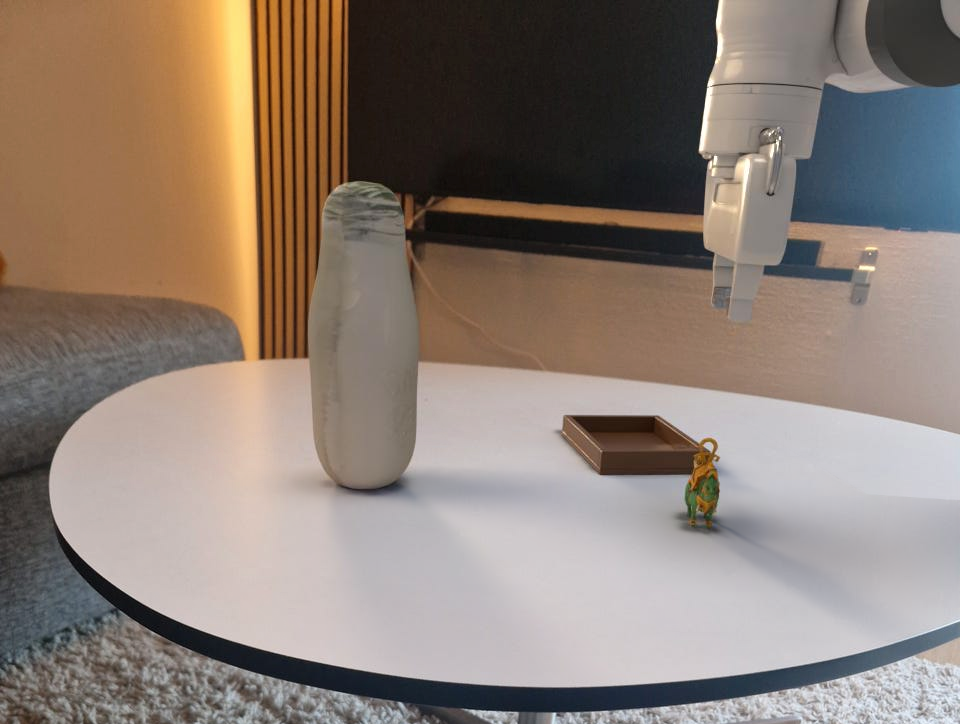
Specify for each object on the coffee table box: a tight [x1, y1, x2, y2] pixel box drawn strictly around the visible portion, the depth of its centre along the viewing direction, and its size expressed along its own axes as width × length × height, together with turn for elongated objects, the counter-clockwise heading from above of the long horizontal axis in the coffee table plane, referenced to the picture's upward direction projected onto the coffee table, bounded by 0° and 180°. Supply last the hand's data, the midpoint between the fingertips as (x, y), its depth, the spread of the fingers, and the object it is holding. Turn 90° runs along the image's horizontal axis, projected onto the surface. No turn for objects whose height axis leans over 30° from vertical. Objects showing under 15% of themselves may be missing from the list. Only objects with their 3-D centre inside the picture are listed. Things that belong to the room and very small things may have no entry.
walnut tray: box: [561, 414, 711, 475], centre depth 110 cm, size 18×13×3 cm
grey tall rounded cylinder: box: [307, 180, 420, 490], centre depth 89 cm, size 10×10×28 cm
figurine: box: [684, 437, 721, 530], centre depth 86 cm, size 3×12×8 cm, turn 173°
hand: (728, 314), depth 80 cm, fingers open, 8 cm apart
